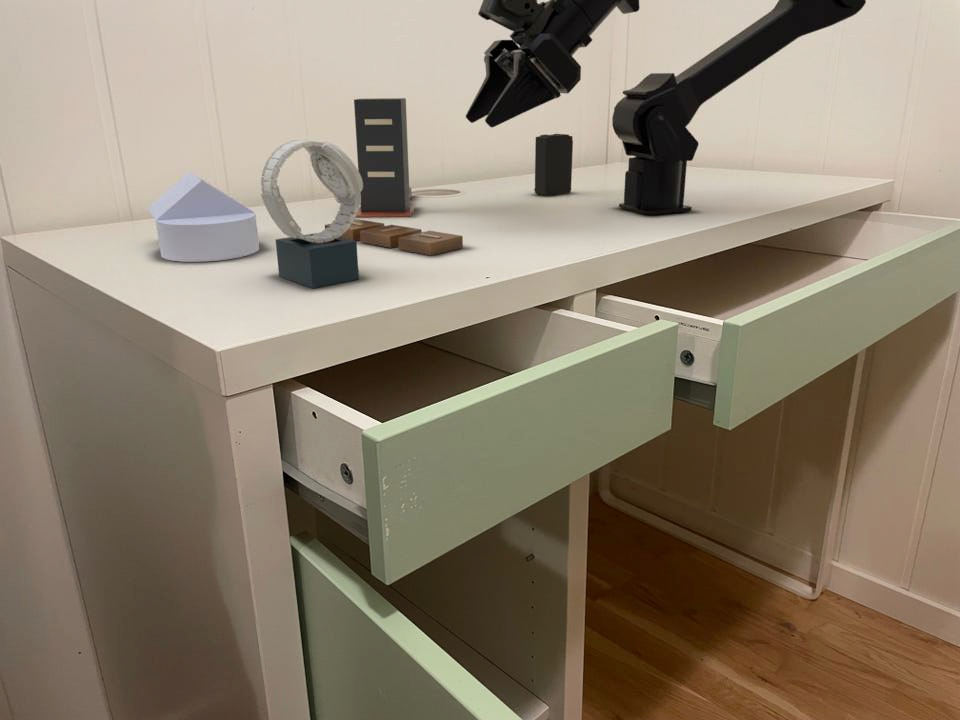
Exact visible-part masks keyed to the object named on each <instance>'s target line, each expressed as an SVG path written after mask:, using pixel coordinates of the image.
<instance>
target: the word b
mask: <svg viewBox="0 0 960 720" xmlns="http://www.w3.org/2000/svg"><path fill="white" fill-rule="evenodd" d="M412 191H413V190H412V186H411V187H410V186H409V193H410V199H411V198H412V197H413V195H412V194H413V192H412ZM414 211H415V206H410V208H409V209H408V210H407V211H406V212H361V206H359V208H358V212H357V214H356V217H355V218H377V217H378V218H385V217H387V218H390V217H391V218H392V217H396V218H397V217H401V218H402V217H405V218H406V217H407V218H408V217H411V215H412V214H413V213H414Z"/></svg>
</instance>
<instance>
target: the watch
mask: <svg viewBox="0 0 960 720" xmlns="http://www.w3.org/2000/svg"><path fill="white" fill-rule="evenodd" d="M303 148H304V149H305V150H306V151H307V153H308V154H309V156H310V157H309V158H310V159H309V160H310V163H311V166H312V169H313V172H314V174H315V175H316V177H318V179H319V181H320V182H321V183H322V184H323V186H324V187H325V188H326V189H327V190H328V191H329V192H330V193H332V194H333V197H334V199H335V201H336V203H337V204H340V205H339V208H338V209H339V210H338V211H337V213H336V216H335V218H334V219H333V221H332V222H331V223H329V224H330V225H329V228H326V229H325V228H324V229H323V230H322V231H321V232H315V233H309V234H303V232H302V228H301V226H299V224H298V223H297V222H296V220H295V219H294V217H293V215H292V213H291V212H290V210H289V208H288V206H287V203H286V201H285V199H284V197H282V195H281V191H280V186H279V185H278V177H279V175H280V171H281V168H282V167H283V166H284V164H285V162H286V161H287V159H289V158H290V157H291V156H292V155H294V153H295V152H298V151H299V150H301V149H303ZM260 178H261V180H260V184H261V188H260V189H261V192H262V193H261V194H260V197H261V199H262V201H263V203H264V206H265V208H266V211H267V212H268V214H269V216H270V218H271V219H272V221H273V222H274V223H275V226H277V227H278V229H279V230H280V231H281V232H282V234H284V235H285V236H287V237H283V238H282V237H281V238H275V248H276V258H277V268H278V277H280V278H282V279H284V280H285V279H286V280H289V281H290V282H291V281H292V282H294V283H296V284H299V285H302V286H305V287H307V288H310V289H316V288H321V287H326V286H332V285H337V284H342V283H347V282H352V281H357V280H359V278H360V276H359V275H360V273H359V260H358V258H359V257H358V244H357V240H356V241H352V240H348V239H344V238H340V236H341V235H343V233H345V232H346V231H347V230H348V229H349V227H350V226H351V224H352V223H353V221H354V219H356V218H357V217H356V214H357V212H358V208H359V207H360V204H361V193H360V192H361V191H362V189H363V182H362V178H361V176H360V173H359V171H358V167H357V166H356V165H355V163H354V162H353V160H352V159H351V158H350V157H349V156H348V155H347V153H346V152H344V150H342V148H340V147H339V146H337V145H336V144H334V143H332V142H329V141H316V140H315V141H313V140H306V139H299V140H297V139H295V140H289V141H287V142H284V143H283V144H281V145H280V146H279V147H277V148H276V149H275V150H273V152H271V154H270V155H269V157H268V158H267V160H266V161H265V164H264V166H263V169H262V173H261V177H260Z"/></svg>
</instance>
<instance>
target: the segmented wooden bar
mask: <svg viewBox="0 0 960 720" xmlns="http://www.w3.org/2000/svg"><path fill="white" fill-rule="evenodd" d="M330 224H331V223H326V224H324V230H325V229H326V228H329V225H330ZM340 238H344V239H348V240H352V241H356V242H357V241H360V243H362V244H365V245H366V244H367V245H371V246H378V247H383V248H389V249H392V248H396V247H398V250H400V251H405V252H410V253H414V254H419V255H425V256H431V257H432V256H435V255H440V254H444V253H447V252H452V251H455V250H461V249H463V247H464V243H463V241H464V240H463V235H459V234H454V233H448V232H441V231H436V230H435V231H434V230H426V231H422V229H420V228H415V227H410V226H402V225H398V224H397V225H396V224H388V225H385V223H384V222H377V221H373V220H372V221H371V220H364V219H360V218H359V219H358V218H355V219H354V221H353V223H352V224H351V226H350V227H349V229H348V230H347V231H346V232H345V233H343V235H341V236H340Z"/></svg>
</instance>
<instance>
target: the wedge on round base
mask: <svg viewBox="0 0 960 720" xmlns="http://www.w3.org/2000/svg"><path fill="white" fill-rule="evenodd" d="M147 210H148V211H149V212H150V214H151V216H152V218H153V219H154V220H155V225H156V231H157V238H158V239H157V240H158V245H159V252H160V257H161V258H162V259H164V260H167V261H174V262H181V263H182V262H185V263H200V262H201V263H202V262H216V261H218V262H219V261H226V260H231V259H232V260H233V259H239V258H243V257H246V256H250V255H252V254H255V253H257V252H258V251H259V250H260V243H259V233H258V223H257V214H256V212H255V211H253V210H252V209H251V208H249V207H248V206H246V205H244V204H243V203H242V202H241V201H239V200H237V199H235V198H234V197H233V196H231V195H230V194H227V192H224V191H222V190H221V189H219V188H218V187H216V186H214V185H212V184H211V183H210V182H209V181H208V182H207V180H204V179H203V178H201V177H200V176H198V175H197V174H195V173H193V172H191V171H188V172H187V173H186V174H185V175H184V176H182V177H181V178H180V179H179V180H177V182H175V183H174V184H173V185H172V186H171V187H170V188H168V189H167V190H166V191H165V192H164V193H163V194H161V195H160V196H159V197H158V198H157V199H156V200H155V201H154V202H152V203H151V204H150V205H149V206H148V207H147Z"/></svg>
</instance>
